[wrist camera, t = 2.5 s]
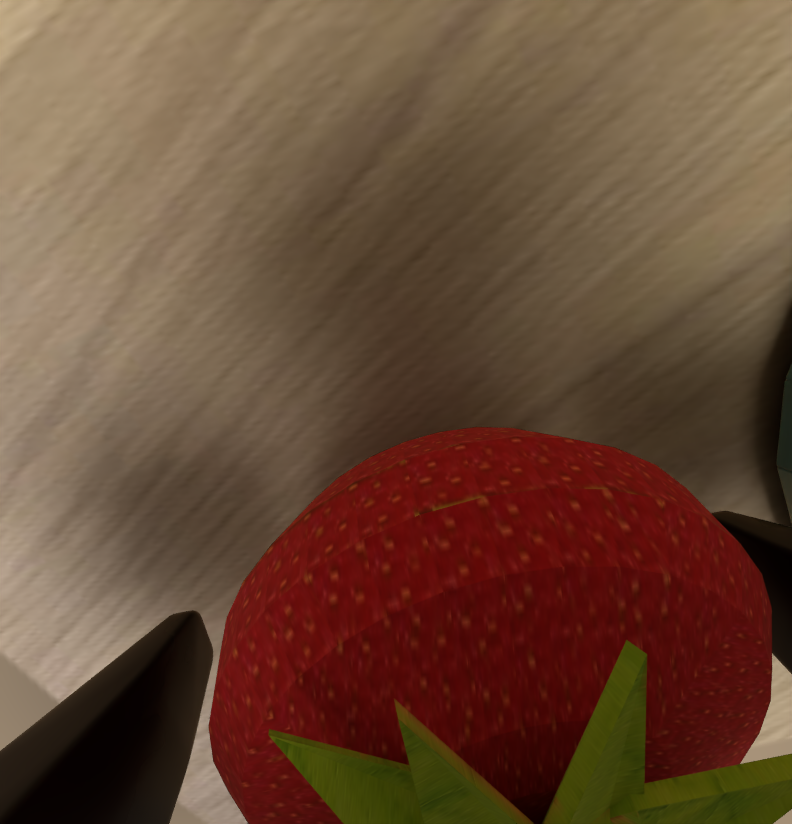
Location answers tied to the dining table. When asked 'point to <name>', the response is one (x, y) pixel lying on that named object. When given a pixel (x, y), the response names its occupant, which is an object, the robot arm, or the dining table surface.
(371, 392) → the dining table surface
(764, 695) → the strawberry
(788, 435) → the teal pet bowl
